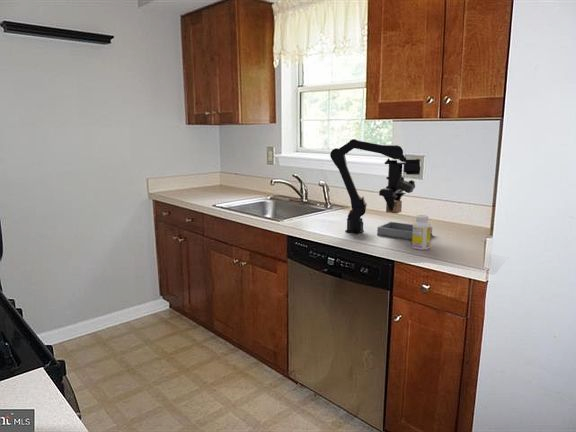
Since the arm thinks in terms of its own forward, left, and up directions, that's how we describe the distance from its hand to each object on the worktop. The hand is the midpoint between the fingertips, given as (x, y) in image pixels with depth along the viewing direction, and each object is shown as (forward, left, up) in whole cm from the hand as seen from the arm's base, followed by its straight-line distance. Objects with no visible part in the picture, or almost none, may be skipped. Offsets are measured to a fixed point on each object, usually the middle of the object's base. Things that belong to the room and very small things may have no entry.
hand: (393, 209), depth 191 cm
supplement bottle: (+19, -16, -11) cm, 27 cm away
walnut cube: (0, 0, -1) cm, 1 cm away
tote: (+6, 0, -11) cm, 12 cm away
